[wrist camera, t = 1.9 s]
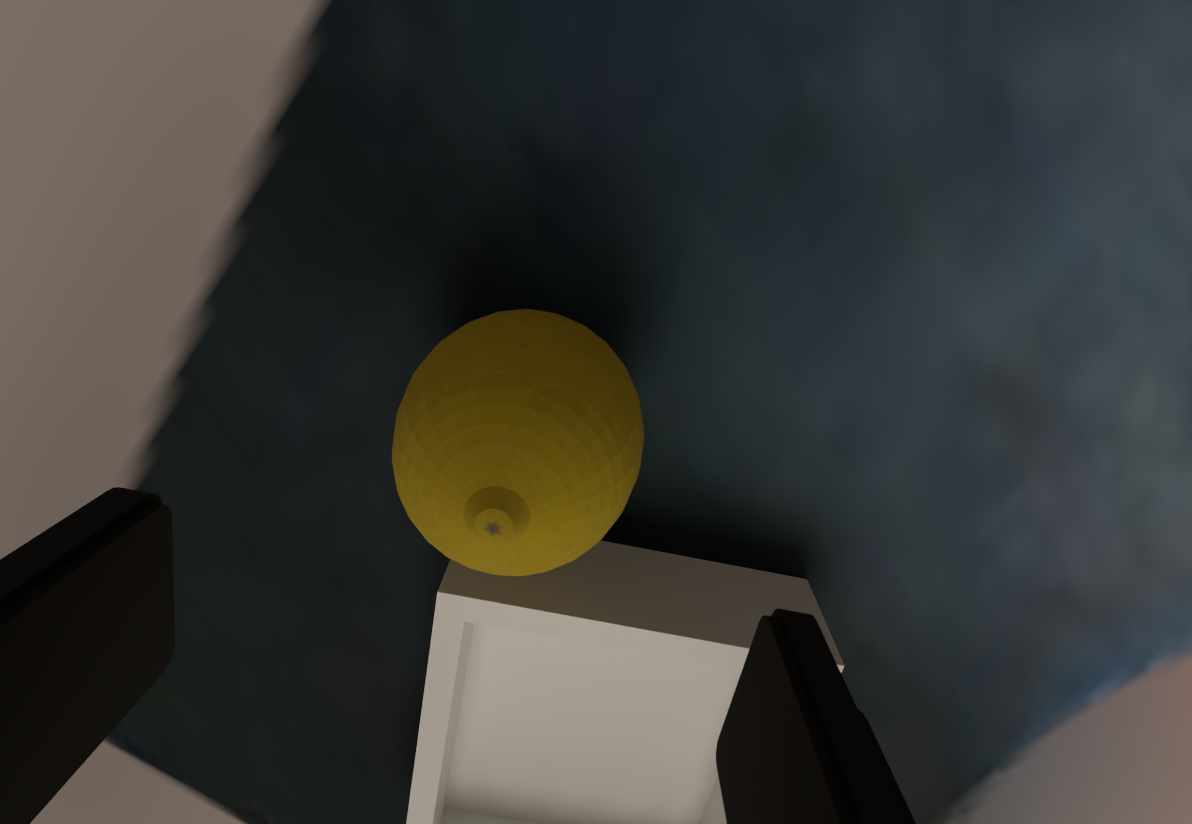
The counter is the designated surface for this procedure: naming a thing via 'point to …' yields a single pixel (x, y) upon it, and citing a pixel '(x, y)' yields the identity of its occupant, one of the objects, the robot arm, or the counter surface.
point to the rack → (588, 688)
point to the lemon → (517, 442)
